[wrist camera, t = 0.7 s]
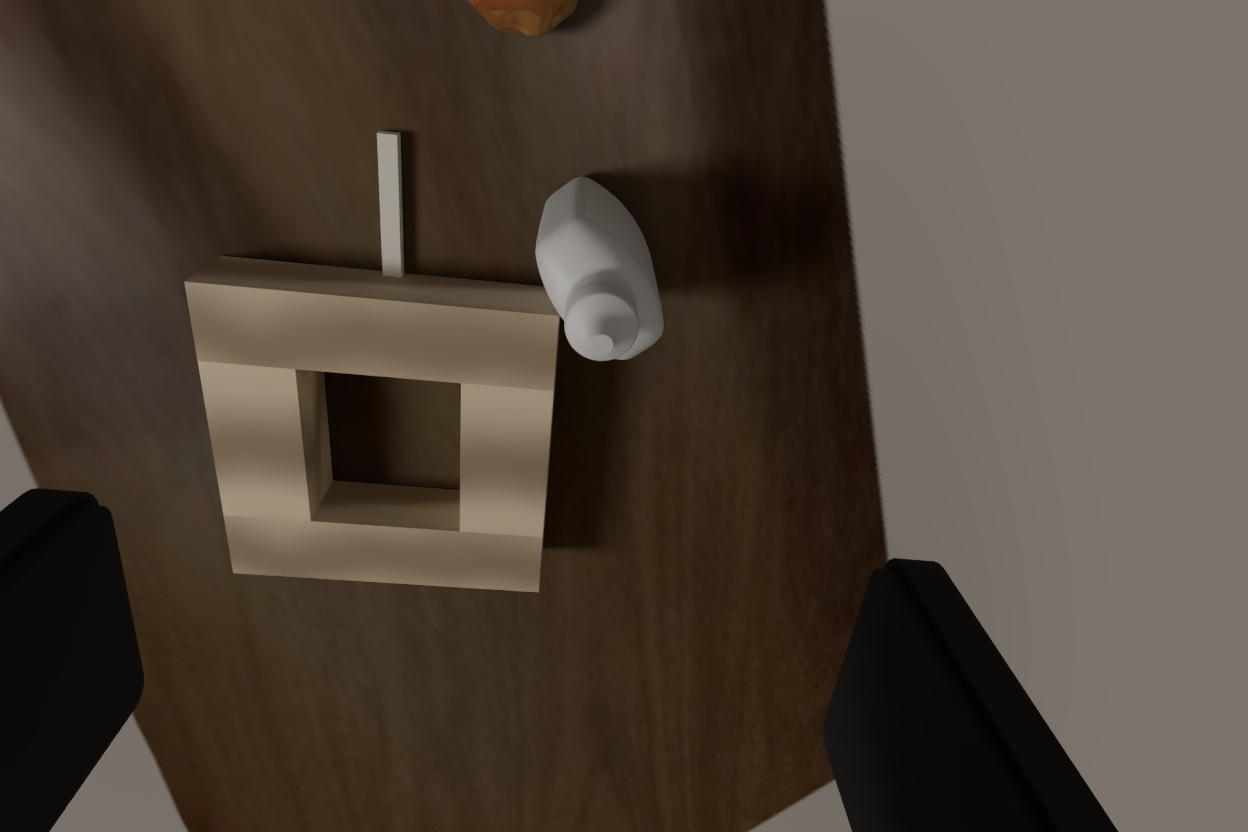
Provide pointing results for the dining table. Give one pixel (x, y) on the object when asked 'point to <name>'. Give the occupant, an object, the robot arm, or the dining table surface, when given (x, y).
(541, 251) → the eye dropper bottle
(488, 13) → the pastry
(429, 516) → the rectangular frame
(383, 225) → the white rectangular bar
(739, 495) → the dining table surface
